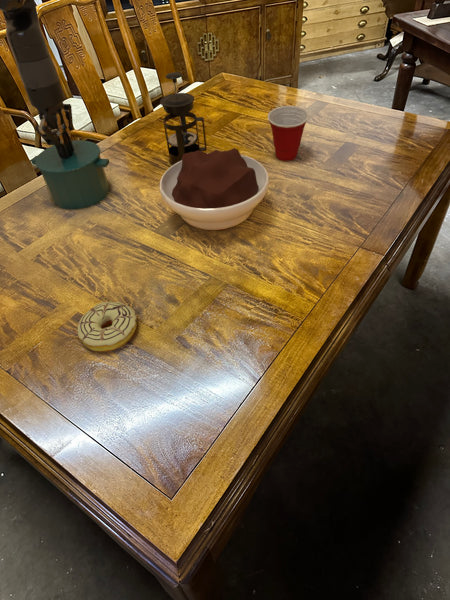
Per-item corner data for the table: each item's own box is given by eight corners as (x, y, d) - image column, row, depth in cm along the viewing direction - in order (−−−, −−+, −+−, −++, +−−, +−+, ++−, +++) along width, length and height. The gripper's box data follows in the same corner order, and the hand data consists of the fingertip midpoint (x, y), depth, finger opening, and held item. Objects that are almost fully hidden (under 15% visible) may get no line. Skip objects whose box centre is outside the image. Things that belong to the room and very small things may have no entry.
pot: (106, 212, 105) (94, 174, 97) (34, 207, 108) (16, 170, 100) (126, 180, 114) (117, 144, 107) (59, 177, 118) (46, 141, 110)
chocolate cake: (227, 260, 89) (222, 200, 78) (144, 223, 100) (130, 165, 89) (288, 204, 102) (291, 145, 91) (209, 176, 113) (203, 120, 102)
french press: (164, 169, 118) (149, 82, 101) (169, 152, 124) (155, 68, 107) (206, 167, 117) (197, 79, 100) (208, 151, 123) (200, 66, 106)
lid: (85, 177, 97) (77, 153, 93) (24, 174, 100) (14, 151, 96) (110, 145, 108) (104, 122, 104) (55, 143, 111) (47, 121, 106)
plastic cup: (264, 165, 115) (265, 122, 107) (269, 147, 123) (269, 105, 114) (304, 167, 114) (308, 123, 105) (306, 148, 121) (310, 105, 112)
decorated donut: (140, 308, 81) (136, 294, 78) (137, 352, 74) (132, 339, 71) (87, 313, 81) (81, 300, 78) (78, 358, 74) (71, 345, 71)
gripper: (40, 68, 96) (66, 141, 108) (8, 92, 87) (40, 168, 99) (70, 68, 95) (92, 142, 107) (40, 92, 85) (69, 169, 98)
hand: (67, 154), depth 103 cm, fingers closed on lid, 2 cm apart
